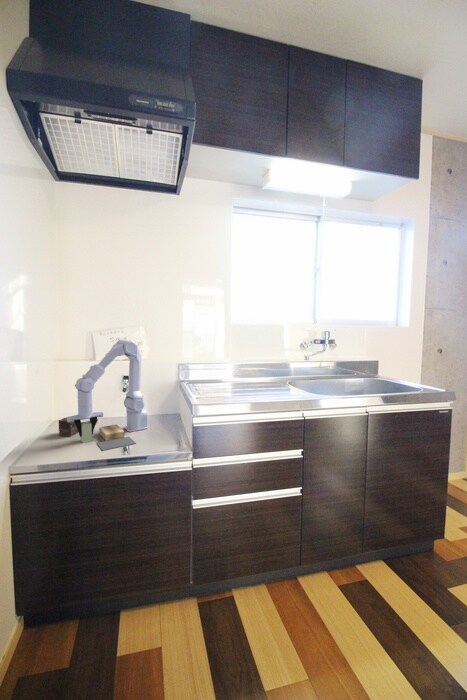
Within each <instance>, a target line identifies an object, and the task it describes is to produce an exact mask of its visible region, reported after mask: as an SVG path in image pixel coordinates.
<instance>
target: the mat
mask: <svg viewBox="0 0 467 700" xmlns="http://www.w3.org/2000/svg"><path fill="white" fill-rule="evenodd" d="M96 444H97V446H98V447H99V448H100V450H101V451H102V452H103V451H107V450H108V451H109V450H112V449H118V448H123V447H128V446H133V445H136V444H137V442H136V441H135V440H134V439H132V438H131V437H130V436H126V437H125V436H124V438H119V439H114V440H109V441H105V440H104V441H100V442H96Z"/></svg>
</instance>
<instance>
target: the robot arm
mask: <svg viewBox="0 0 467 700" xmlns="http://www.w3.org/2000/svg"><path fill="white" fill-rule="evenodd" d="M121 356H125V357H127V358H128V359H129V362H128V363H129V366H128V369H129V371H128V390H127V392H126V394H125V398H124V400H123V406H124V407H125V408H126V425H125V426H124V427H123V428H124V429H125V430H126V431H128V432H129V433H130V432H131V433H132V432H136V431H141V430H146V429H148V413H147V412H148V411H147V410H146V409H144V407H145V401H144V396H143V395H142V392H141V375H142V374H141V369H142V354H141V352H140V349H139V344H137V343H136V342H135V341H133V340H126V339H119V340H117V341H116V343H114V344H113V345H112V347H111V348H110V350H109V351H108V352H107V353H106V355H104V357H103V358H102V359H101V360H100V362H98V364H93V365H91V366H89V369H88V370H87V371H86V373H85V374H83V375H81V377H80V378H78V379H77V380H76V382H75V384H74V387H75V389H77V411H78V413H77V414H75V415H72V416H66V417H67V422H71V421H74V423H75V425H76V427H77V429H78V435H79V438H80V437H82V431H81V424H82V423H81V422H82V421H83V420H89V421H90V422H91V423H92V436H93V435H94V430H95V427H96V425H97V423H98V420H99V418H104V412H103V411H100V412H99V411H98V412H93V394H92V392H93V389H94V388H95V384H96V383H97V382H98V381H99V380H100V378H101V377H102V376H103V375H104V374H105V369H106V368H107V367H108V366H109V365H110V364H112V362H113V361H114V360H115V359H116V358H117V357H121Z"/></svg>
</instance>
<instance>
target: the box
mask: <svg viewBox="0 0 467 700" xmlns="http://www.w3.org/2000/svg"><path fill="white" fill-rule="evenodd" d="M67 417H68V416H66V417H63V418H62V419H61V418H60V419H59V420H58V435H59V436H61V437H72V436H75V435H76V434H79V432H78V429H77V427H76V425H75V423H74V421H71V422H67Z"/></svg>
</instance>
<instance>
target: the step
mask: <svg viewBox="0 0 467 700" xmlns="http://www.w3.org/2000/svg"><path fill="white" fill-rule="evenodd" d="M98 428H99V432H98V433H99V434H100V437H102V438H103V440H104V441H109V440H114V439H119V438H125V430H124V429H123V428H121V427H120V426H119V425H118V424H111V425H105V426H99V427H98Z"/></svg>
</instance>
